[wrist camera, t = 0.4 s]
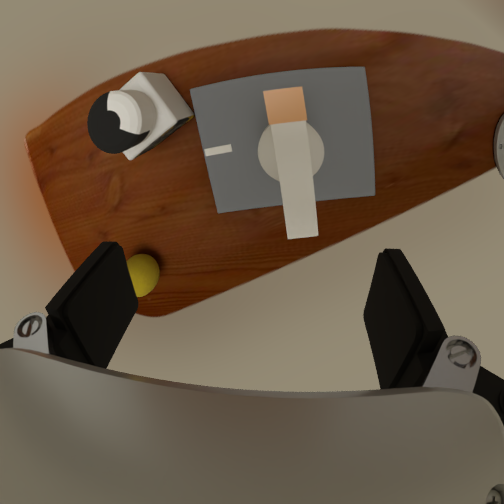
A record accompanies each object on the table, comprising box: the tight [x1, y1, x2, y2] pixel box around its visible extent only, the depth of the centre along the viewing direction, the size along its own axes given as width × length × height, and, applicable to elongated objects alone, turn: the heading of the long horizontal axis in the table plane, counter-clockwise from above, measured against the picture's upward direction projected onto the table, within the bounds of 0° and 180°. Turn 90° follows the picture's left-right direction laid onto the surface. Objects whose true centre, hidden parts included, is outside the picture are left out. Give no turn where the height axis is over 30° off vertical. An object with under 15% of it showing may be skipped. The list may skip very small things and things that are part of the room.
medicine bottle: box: [87, 72, 194, 160], centre depth 27 cm, size 7×7×12 cm
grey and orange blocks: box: [258, 86, 324, 239], centre depth 24 cm, size 11×6×9 cm, turn 10°
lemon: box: [127, 254, 160, 297], centre depth 40 cm, size 6×6×8 cm
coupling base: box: [190, 67, 375, 213], centre depth 30 cm, size 20×16×6 cm
